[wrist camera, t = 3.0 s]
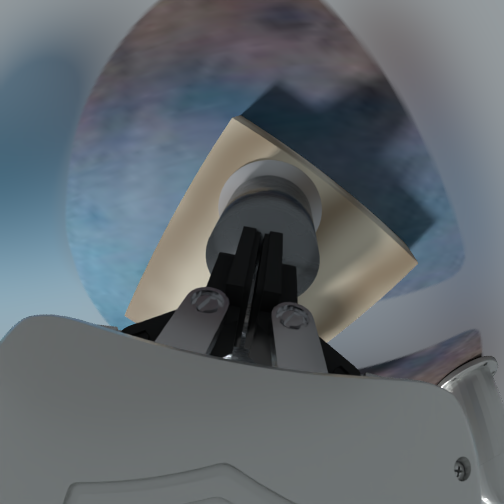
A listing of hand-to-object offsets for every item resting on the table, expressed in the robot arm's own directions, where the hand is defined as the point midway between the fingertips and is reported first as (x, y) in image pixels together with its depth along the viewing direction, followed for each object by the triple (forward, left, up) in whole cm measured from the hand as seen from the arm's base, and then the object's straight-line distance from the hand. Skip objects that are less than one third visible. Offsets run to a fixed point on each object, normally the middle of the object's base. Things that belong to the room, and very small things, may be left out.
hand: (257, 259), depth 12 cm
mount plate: (-3, +7, -9) cm, 12 cm away
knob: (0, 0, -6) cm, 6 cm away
